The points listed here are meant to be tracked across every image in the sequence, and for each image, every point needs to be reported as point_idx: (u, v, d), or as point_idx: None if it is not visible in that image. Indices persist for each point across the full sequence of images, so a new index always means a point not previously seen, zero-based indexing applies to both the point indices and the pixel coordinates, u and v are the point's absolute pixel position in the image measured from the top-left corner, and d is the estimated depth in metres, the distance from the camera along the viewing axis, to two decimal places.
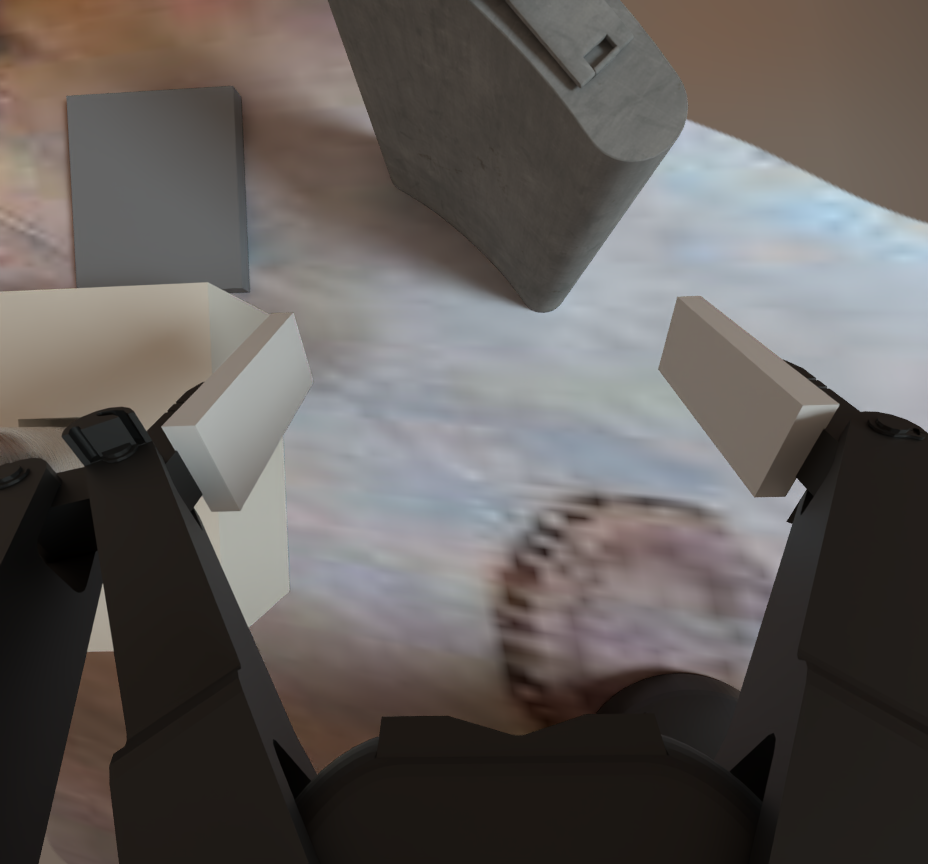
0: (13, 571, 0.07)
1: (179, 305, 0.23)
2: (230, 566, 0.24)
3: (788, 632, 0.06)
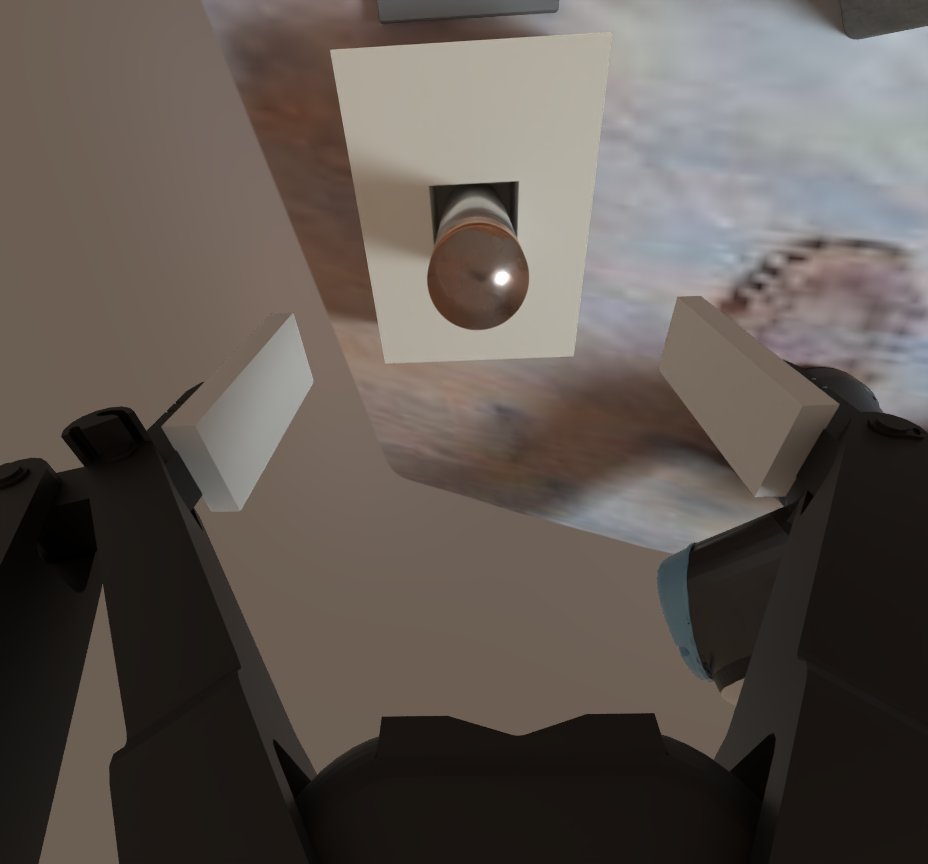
0: (13, 571, 0.07)
1: (580, 61, 0.24)
2: None
3: (788, 632, 0.06)
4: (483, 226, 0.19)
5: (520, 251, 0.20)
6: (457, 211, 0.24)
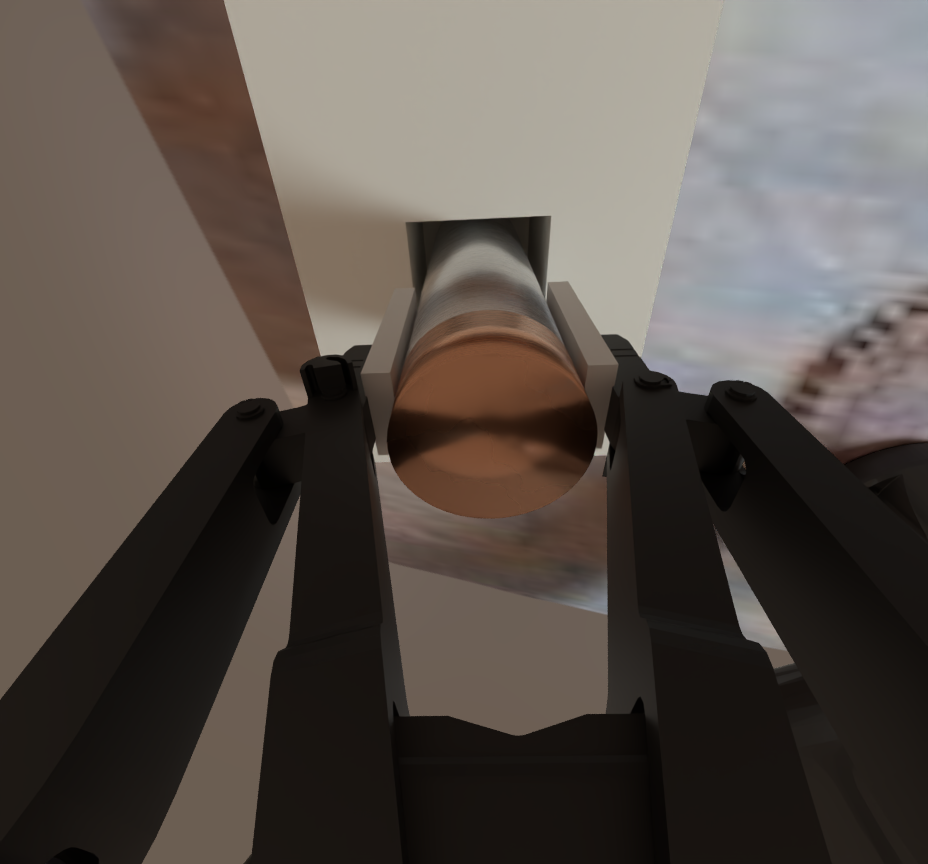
0: (234, 497, 0.08)
1: (670, 11, 0.14)
2: None
3: (627, 588, 0.06)
4: (505, 352, 0.09)
5: (583, 398, 0.09)
6: (450, 281, 0.13)
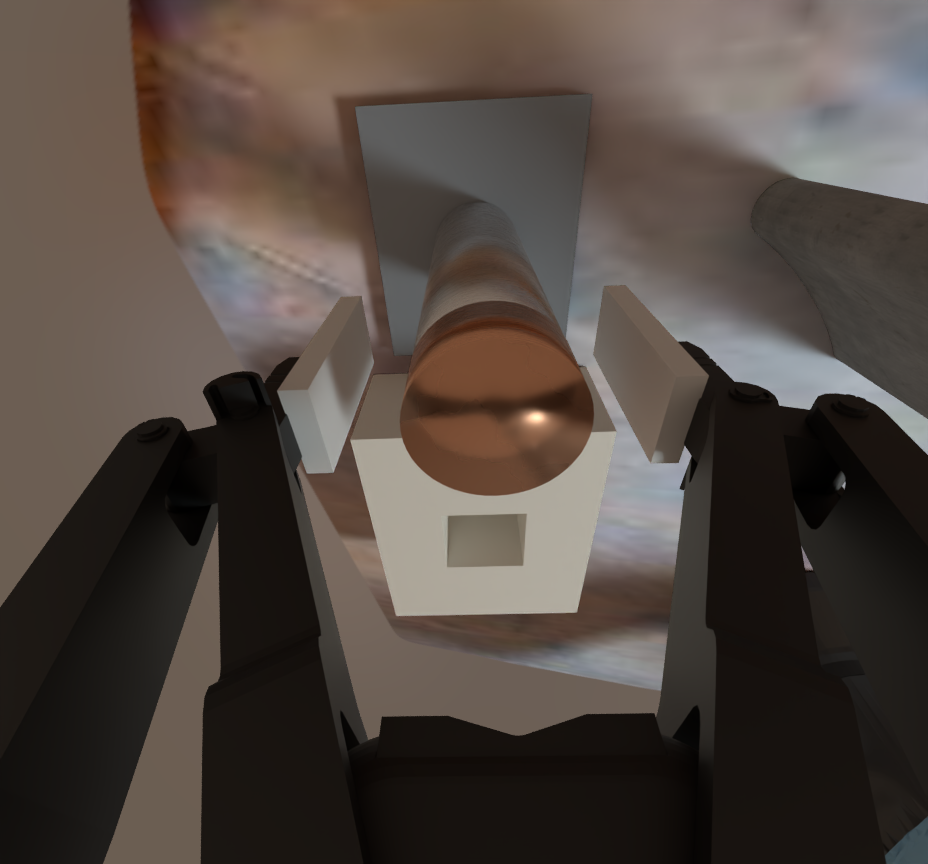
0: (144, 521, 0.08)
1: (586, 447, 0.26)
2: None
3: (695, 599, 0.06)
4: (510, 338, 0.10)
5: (581, 380, 0.10)
6: (455, 274, 0.14)
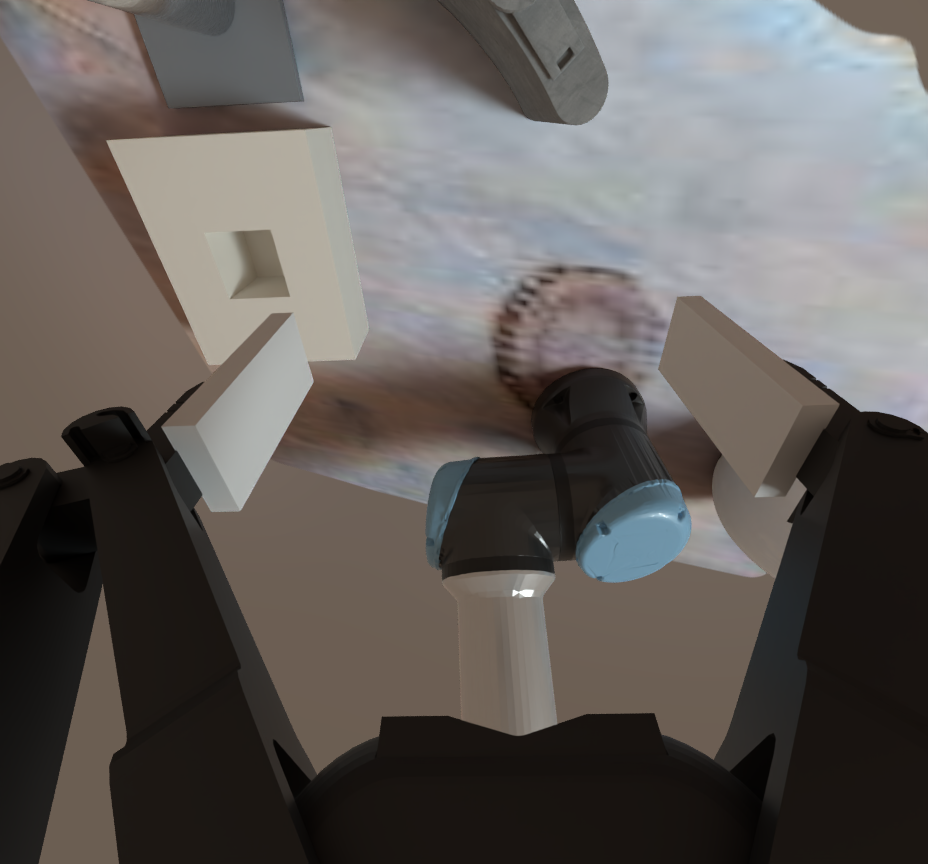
0: (13, 571, 0.07)
1: (288, 149, 0.34)
2: (348, 318, 0.43)
3: (788, 632, 0.06)
4: None
5: None
6: None
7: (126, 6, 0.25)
